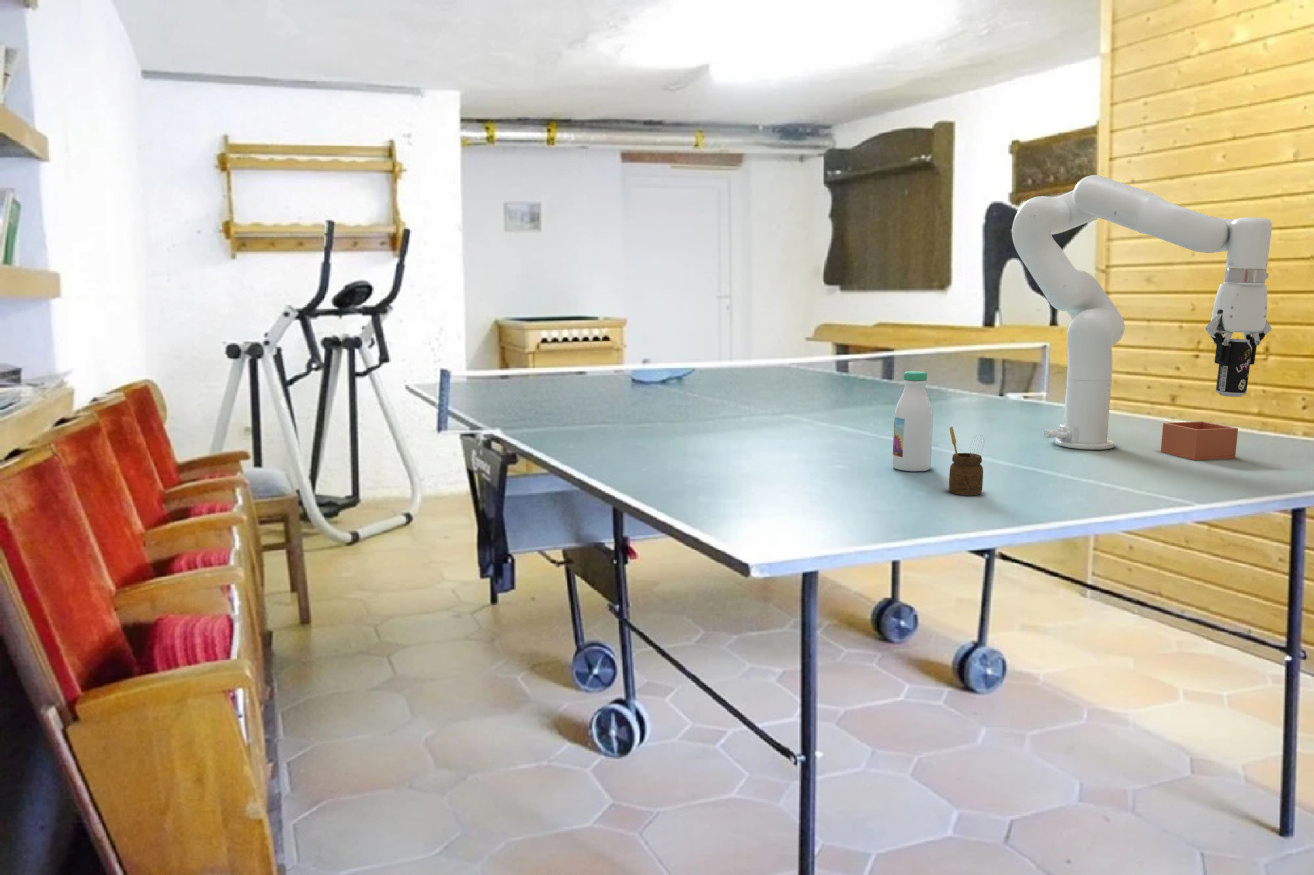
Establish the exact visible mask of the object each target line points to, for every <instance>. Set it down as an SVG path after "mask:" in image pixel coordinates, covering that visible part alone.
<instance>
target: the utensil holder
mask: <svg viewBox="0 0 1314 875" xmlns="http://www.w3.org/2000/svg"><path fill="white" fill-rule="evenodd" d="M949 433H950V438H951V443H952V445H953V448H954V452H955V453H953V454H952V458H951V461H952V463H951V465H950V467H949V477H948V489H949V492H950V493H951V494H954V495H957V496H979V495H980V494H982V492H983V486H984V485H983V484H984V467H983V465H982V463H983V457H982V455H981V454H982V451H983V450H984V445H980V444H985V441H986V440H985V439H983V438H984V436H983V435H981V434H979V435H978V434H975V437H977V438H980V440H979V441H978V443H980V444H978V446H977V441H976V442H975V437H972V438H971V442H970V444H969V447H976V446H977V447H979V446H980V447H979V448H980V449H979V451H978V453H974V452H975V450H976V448H973V450H971V452H958V448H957V438H956V434H955V430H954V427H953V426H950V427H949ZM973 440H974V441H973ZM980 441H981V442H980ZM972 444H973V445H972ZM981 446H982V447H981Z"/></svg>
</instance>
